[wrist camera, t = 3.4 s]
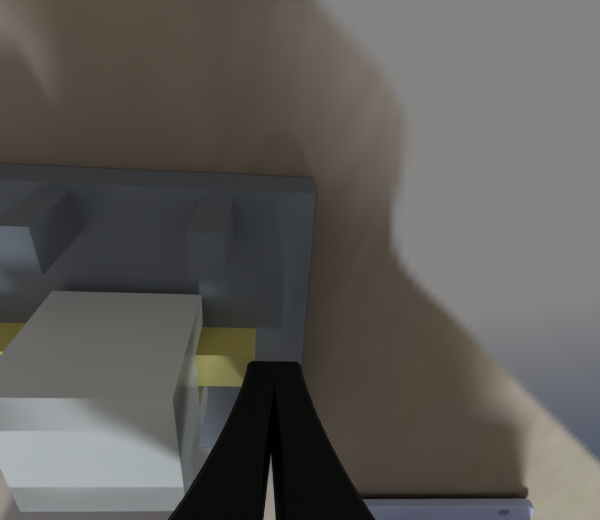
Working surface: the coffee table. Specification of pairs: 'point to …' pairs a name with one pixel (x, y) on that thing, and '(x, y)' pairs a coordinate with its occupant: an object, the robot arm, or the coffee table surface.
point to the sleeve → (102, 402)
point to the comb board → (167, 256)
